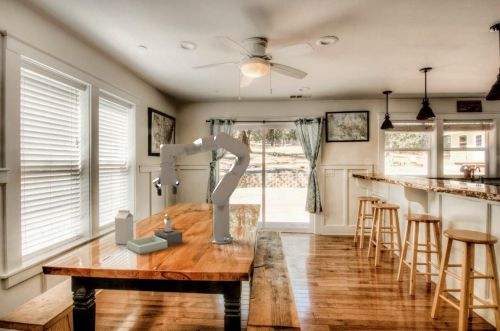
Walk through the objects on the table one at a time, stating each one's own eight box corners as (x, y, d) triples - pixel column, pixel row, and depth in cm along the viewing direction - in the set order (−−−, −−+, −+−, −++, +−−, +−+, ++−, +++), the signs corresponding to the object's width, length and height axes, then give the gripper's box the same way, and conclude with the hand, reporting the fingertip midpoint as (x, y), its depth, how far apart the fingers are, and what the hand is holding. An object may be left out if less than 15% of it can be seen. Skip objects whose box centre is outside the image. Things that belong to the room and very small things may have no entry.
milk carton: (126, 244, 162) (125, 211, 161) (115, 244, 163) (114, 211, 163) (133, 241, 169) (133, 209, 168) (123, 240, 170) (122, 209, 170)
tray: (167, 247, 155) (167, 240, 155) (139, 254, 144) (139, 247, 144) (153, 242, 166) (153, 235, 166) (126, 248, 155) (126, 241, 155)
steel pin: (172, 241, 166) (172, 214, 166) (167, 243, 164) (166, 215, 164) (169, 240, 169) (169, 213, 169) (164, 242, 166) (163, 214, 166)
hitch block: (182, 242, 165) (182, 232, 165) (166, 246, 158) (166, 235, 158) (169, 238, 175) (169, 228, 175) (154, 241, 168) (154, 231, 168)
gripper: (176, 165, 174) (176, 193, 175) (149, 165, 162) (150, 195, 162) (183, 165, 169) (183, 194, 170) (156, 166, 157) (156, 196, 157)
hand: (167, 194), depth 166 cm, fingers open, 9 cm apart
